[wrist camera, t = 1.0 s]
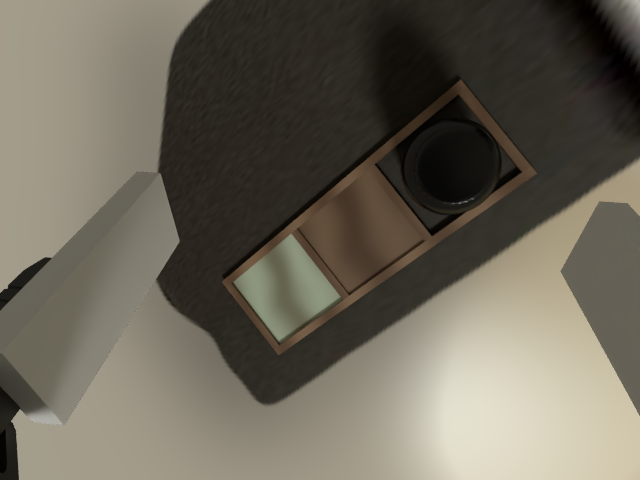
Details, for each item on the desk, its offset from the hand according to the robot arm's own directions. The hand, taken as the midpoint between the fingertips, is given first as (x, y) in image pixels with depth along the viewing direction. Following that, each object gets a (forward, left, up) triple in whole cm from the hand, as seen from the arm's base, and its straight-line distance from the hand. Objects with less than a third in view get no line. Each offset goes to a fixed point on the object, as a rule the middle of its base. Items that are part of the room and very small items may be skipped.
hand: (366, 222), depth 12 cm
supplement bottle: (-3, -1, -25) cm, 25 cm away
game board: (+5, +4, -25) cm, 26 cm away
